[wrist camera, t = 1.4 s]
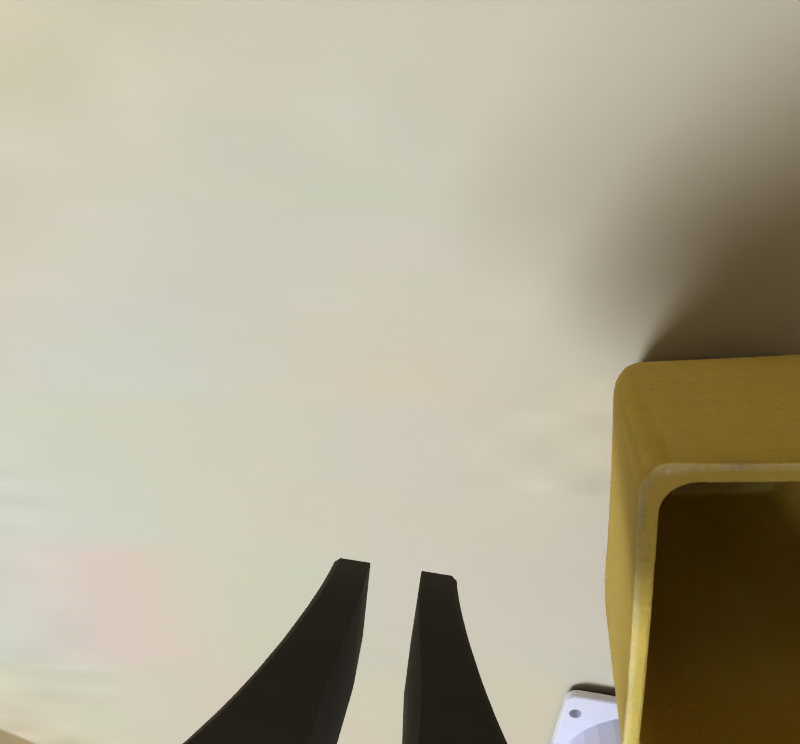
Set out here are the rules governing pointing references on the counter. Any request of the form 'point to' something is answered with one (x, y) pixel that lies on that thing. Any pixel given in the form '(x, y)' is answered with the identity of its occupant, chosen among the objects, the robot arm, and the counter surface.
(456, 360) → the counter surface
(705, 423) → the flower pot
